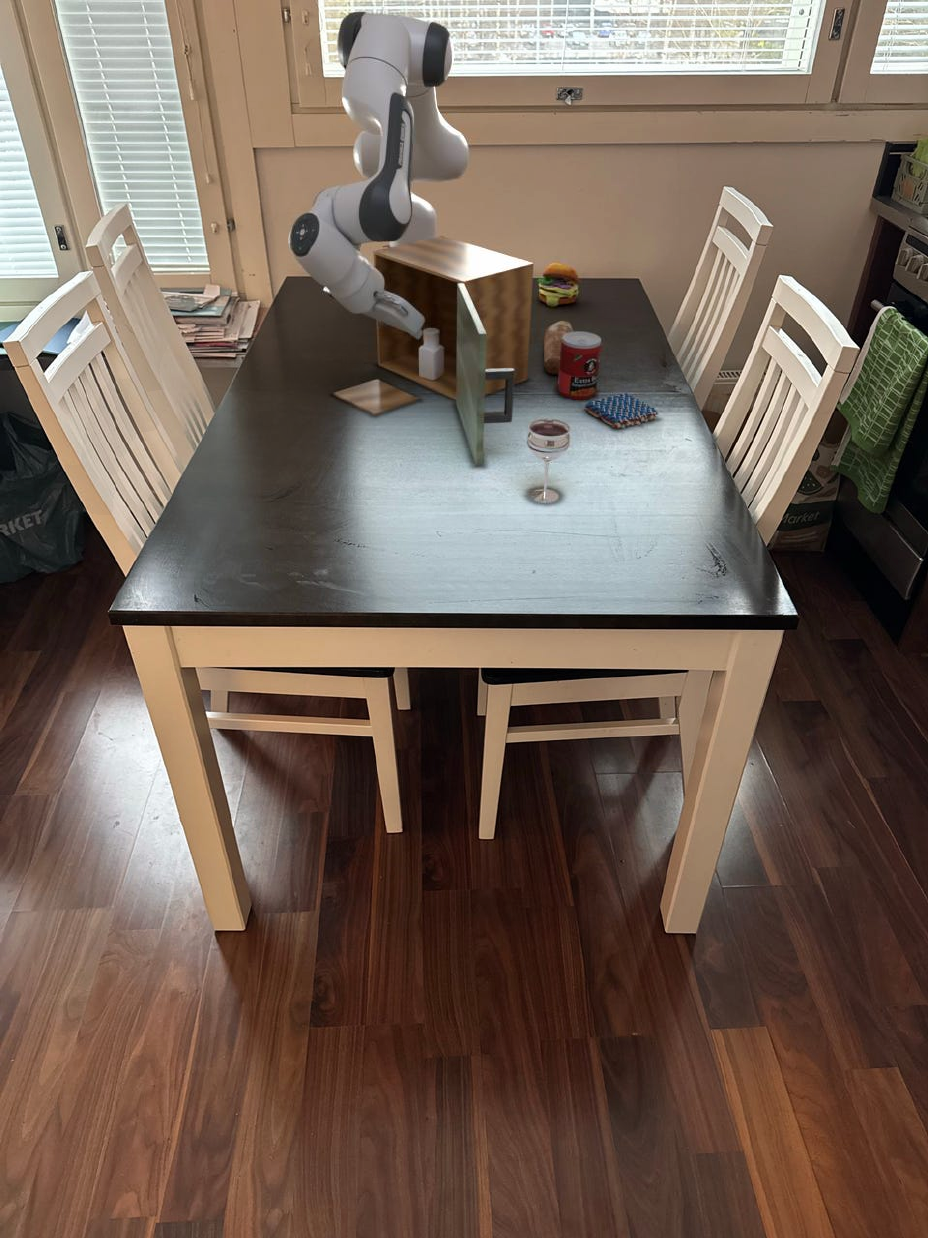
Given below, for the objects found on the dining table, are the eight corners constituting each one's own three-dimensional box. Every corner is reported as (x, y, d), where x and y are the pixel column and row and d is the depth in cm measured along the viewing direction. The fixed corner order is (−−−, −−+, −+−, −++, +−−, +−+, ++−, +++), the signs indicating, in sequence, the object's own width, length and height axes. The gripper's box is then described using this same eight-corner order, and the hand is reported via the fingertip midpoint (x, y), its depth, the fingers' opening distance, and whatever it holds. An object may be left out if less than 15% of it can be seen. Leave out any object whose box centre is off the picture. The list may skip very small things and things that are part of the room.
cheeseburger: (530, 304, 227) (535, 261, 223) (542, 302, 236) (547, 261, 232) (569, 309, 224) (575, 265, 220) (580, 307, 233) (586, 265, 229)
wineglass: (553, 510, 145) (559, 440, 138) (516, 499, 148) (519, 430, 141) (572, 493, 150) (579, 424, 143) (536, 482, 153) (540, 414, 146)
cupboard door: (488, 402, 178) (492, 282, 165) (512, 464, 158) (519, 332, 144) (456, 404, 178) (457, 283, 164) (475, 466, 157) (478, 333, 143)
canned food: (571, 402, 179) (576, 347, 173) (549, 388, 185) (553, 334, 178) (604, 396, 182) (610, 341, 176) (581, 381, 188) (586, 328, 181)
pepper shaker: (445, 375, 188) (445, 329, 182) (434, 381, 185) (434, 335, 180) (429, 371, 190) (428, 325, 184) (418, 377, 187) (417, 331, 181)
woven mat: (660, 419, 174) (662, 409, 172) (616, 431, 169) (617, 421, 168) (625, 400, 181) (626, 390, 179) (582, 411, 176) (583, 401, 175)
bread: (573, 345, 204) (575, 320, 201) (565, 378, 189) (567, 351, 186) (545, 343, 205) (546, 318, 202) (534, 375, 190) (536, 349, 187)
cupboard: (462, 403, 178) (464, 281, 165) (378, 365, 194) (373, 250, 180) (527, 380, 188) (533, 263, 174) (442, 345, 204) (441, 235, 190)
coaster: (333, 395, 181) (333, 392, 180) (377, 381, 187) (377, 378, 186) (374, 416, 173) (374, 413, 173) (418, 400, 179) (418, 398, 179)
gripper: (405, 285, 160) (447, 328, 171) (335, 259, 171) (378, 301, 183) (386, 316, 160) (429, 357, 171) (317, 288, 172) (362, 328, 183)
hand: (402, 328), depth 177 cm, fingers open, 8 cm apart
